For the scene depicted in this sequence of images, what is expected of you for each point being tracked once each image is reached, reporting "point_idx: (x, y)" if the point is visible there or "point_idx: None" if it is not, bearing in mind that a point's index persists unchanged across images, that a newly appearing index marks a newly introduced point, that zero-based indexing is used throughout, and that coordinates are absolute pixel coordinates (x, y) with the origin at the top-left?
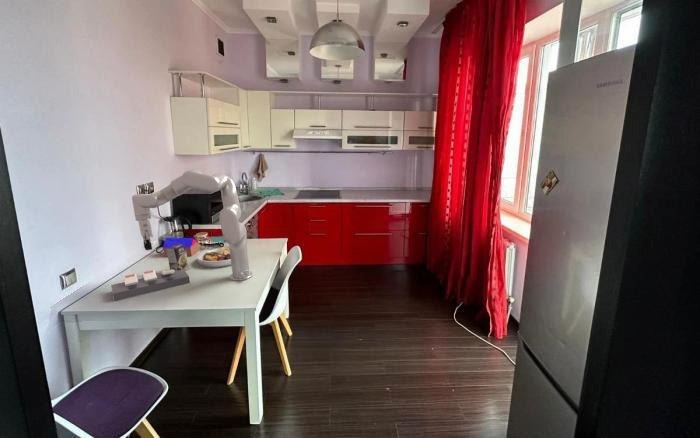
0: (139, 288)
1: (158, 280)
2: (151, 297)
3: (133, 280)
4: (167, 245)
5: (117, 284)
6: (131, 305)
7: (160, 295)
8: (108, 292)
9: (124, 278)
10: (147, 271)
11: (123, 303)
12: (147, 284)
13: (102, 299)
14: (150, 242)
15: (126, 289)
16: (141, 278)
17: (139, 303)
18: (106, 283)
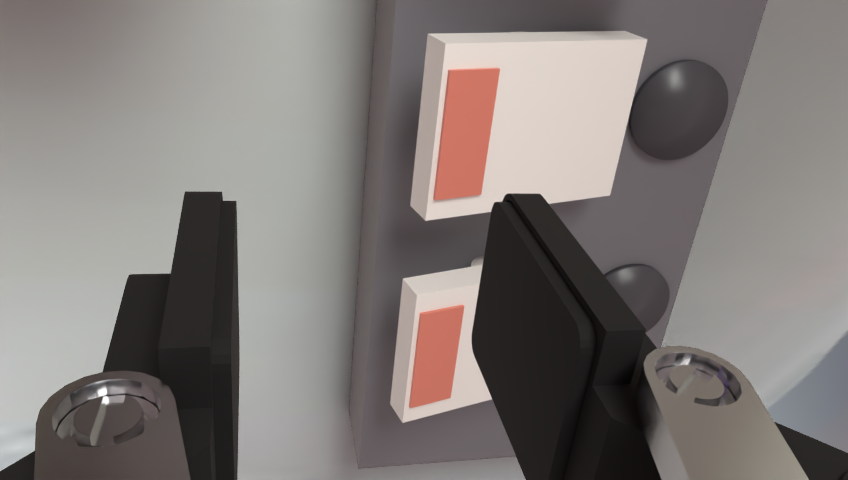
0: (684, 242)
1: (651, 20)
2: (806, 129)
3: None
4: None
5: (394, 421)
6: (812, 289)
7: (842, 43)
8: (333, 437)
9: (454, 404)
10: (443, 152)
11: (714, 337)
12: (672, 163)
13: (479, 465)
14: (720, 366)
15: None
16: (381, 196)
17: (834, 234)
18: (6, 465)
